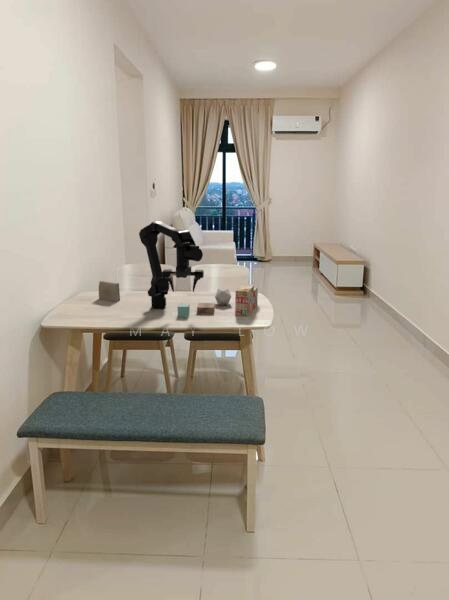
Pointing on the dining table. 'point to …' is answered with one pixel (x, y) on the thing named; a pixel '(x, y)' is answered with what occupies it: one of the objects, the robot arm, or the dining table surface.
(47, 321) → the dining table surface
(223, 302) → the die
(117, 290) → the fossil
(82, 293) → the dining table surface
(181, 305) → the teal cube
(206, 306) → the walnut base
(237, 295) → the printed cardboard box
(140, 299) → the dining table surface
